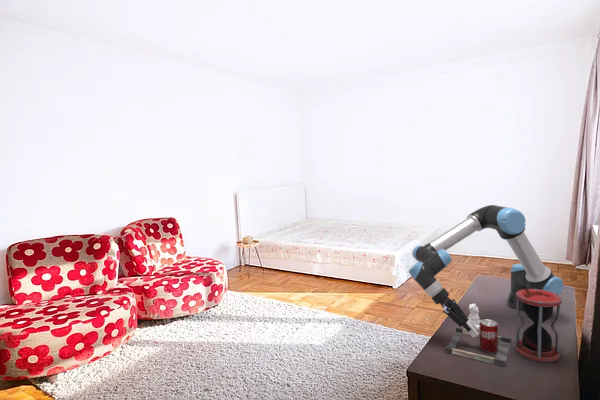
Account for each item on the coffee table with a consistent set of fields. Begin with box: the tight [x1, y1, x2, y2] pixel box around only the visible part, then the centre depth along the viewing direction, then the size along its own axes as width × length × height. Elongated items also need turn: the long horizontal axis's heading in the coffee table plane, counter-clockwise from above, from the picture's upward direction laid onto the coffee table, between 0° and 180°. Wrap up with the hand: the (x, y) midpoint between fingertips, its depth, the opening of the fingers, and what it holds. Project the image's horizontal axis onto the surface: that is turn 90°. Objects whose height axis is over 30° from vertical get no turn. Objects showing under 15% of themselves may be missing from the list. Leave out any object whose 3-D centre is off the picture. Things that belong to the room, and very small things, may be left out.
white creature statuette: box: [467, 303, 482, 332], centre depth 188 cm, size 10×9×12 cm
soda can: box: [478, 318, 499, 354], centre depth 168 cm, size 7×7×12 cm
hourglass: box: [514, 289, 563, 363], centre depth 163 cm, size 16×16×25 cm
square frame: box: [444, 327, 512, 367], centre depth 170 cm, size 22×23×2 cm
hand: (476, 335), depth 170 cm, fingers closed
